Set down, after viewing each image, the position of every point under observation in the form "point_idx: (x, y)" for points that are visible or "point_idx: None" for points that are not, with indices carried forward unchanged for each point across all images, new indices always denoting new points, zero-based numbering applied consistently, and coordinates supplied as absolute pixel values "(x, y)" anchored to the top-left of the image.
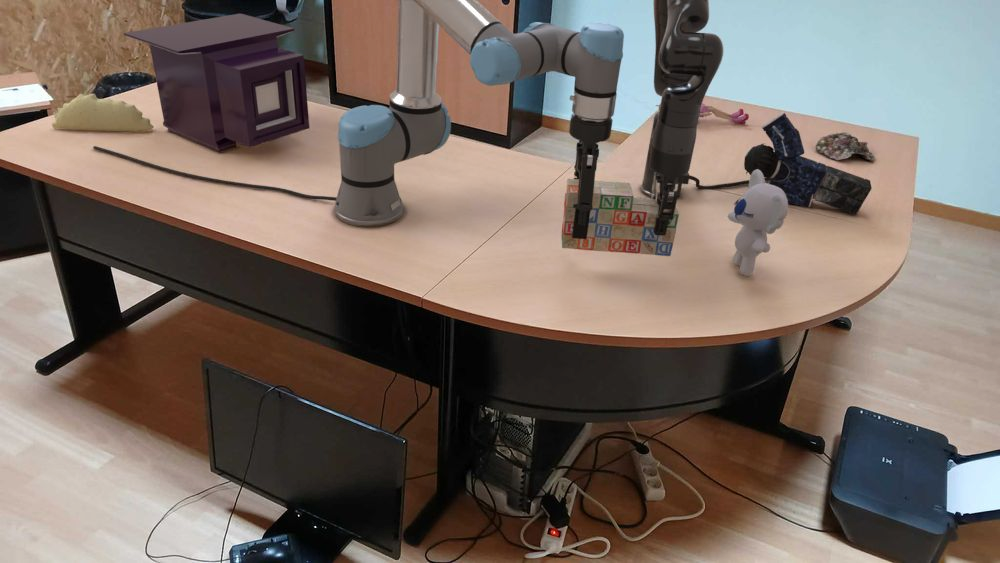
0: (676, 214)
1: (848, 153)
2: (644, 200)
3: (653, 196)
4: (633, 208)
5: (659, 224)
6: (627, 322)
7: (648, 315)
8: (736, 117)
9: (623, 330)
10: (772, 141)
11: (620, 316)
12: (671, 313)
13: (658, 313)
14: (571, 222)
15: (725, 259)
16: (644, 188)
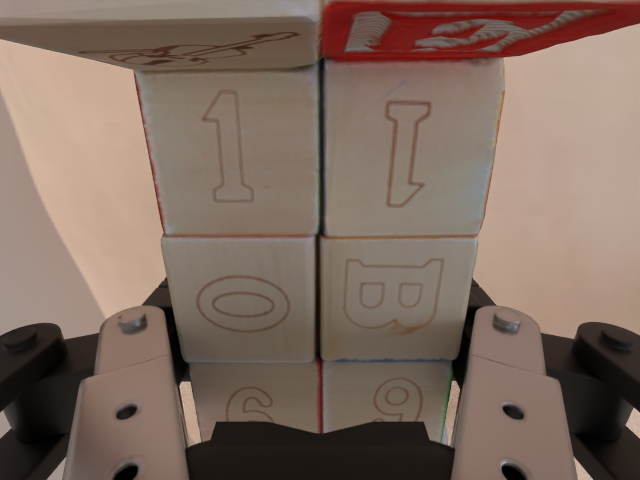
0: (203, 441)
1: None
2: (422, 241)
3: (473, 335)
4: (203, 99)
5: (148, 301)
6: (65, 104)
7: (127, 172)
8: None
9: (16, 87)
10: None
11: (90, 83)
12: (159, 235)
13: (147, 201)
14: None
15: (450, 392)
16: None
